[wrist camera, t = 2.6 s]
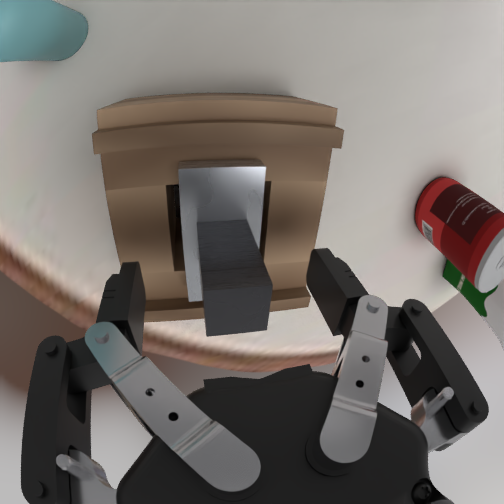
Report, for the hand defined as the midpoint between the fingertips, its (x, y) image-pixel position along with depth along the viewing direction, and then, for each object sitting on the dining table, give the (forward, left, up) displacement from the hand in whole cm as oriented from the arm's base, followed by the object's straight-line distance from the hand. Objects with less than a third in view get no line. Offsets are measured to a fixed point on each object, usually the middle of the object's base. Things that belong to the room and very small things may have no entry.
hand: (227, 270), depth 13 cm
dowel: (-13, -11, -11) cm, 20 cm away
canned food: (+2, +25, -11) cm, 27 cm away
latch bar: (0, 0, -3) cm, 3 cm away
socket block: (0, 0, -11) cm, 11 cm away
